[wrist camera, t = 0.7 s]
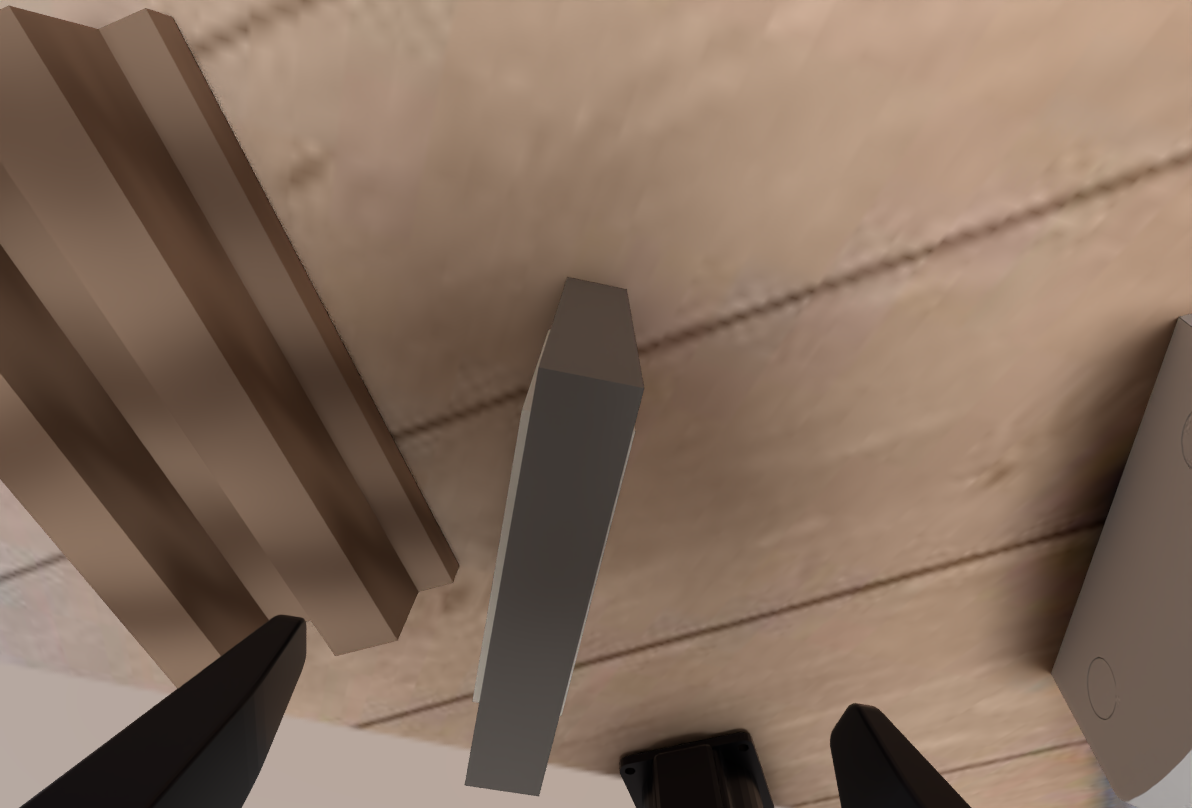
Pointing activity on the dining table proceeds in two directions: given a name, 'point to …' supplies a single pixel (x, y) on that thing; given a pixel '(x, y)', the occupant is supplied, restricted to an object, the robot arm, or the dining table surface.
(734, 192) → the dining table surface
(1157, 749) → the grey two-tone curved device
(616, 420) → the picture frame
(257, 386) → the walnut ledge
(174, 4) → the dining table surface
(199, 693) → the robot arm
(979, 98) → the dining table surface
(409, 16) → the dining table surface
